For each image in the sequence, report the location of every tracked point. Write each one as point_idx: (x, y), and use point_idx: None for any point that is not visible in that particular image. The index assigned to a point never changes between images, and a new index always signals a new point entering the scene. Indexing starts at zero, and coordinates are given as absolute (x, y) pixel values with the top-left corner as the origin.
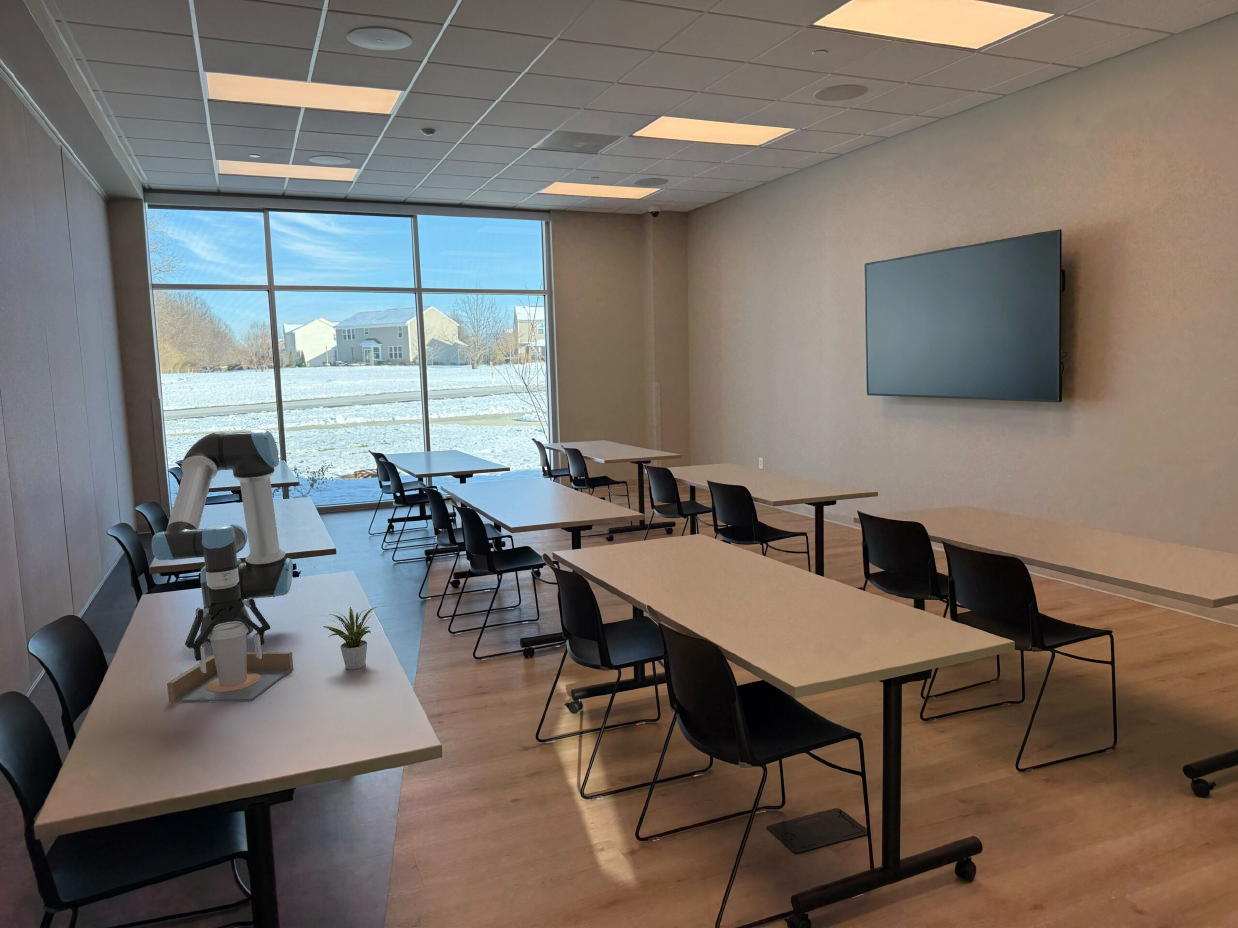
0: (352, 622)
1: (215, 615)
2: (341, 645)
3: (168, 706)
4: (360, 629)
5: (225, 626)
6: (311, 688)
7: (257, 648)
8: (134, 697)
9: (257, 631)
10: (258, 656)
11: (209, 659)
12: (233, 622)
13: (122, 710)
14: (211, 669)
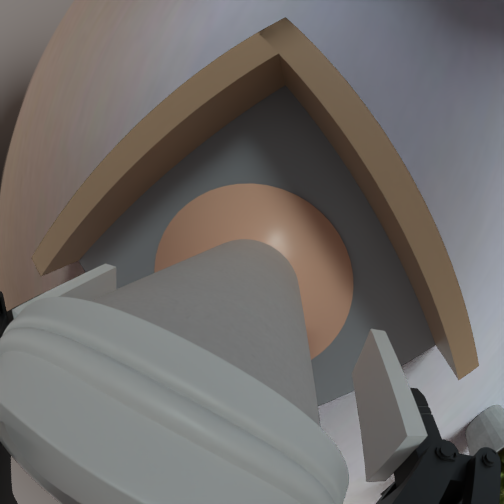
0: None
1: None
2: (497, 451)
3: (70, 273)
4: None
5: (96, 498)
6: (347, 467)
7: (363, 402)
8: (47, 122)
9: (378, 501)
10: (355, 375)
11: (206, 91)
12: None
13: (20, 197)
14: (223, 114)
